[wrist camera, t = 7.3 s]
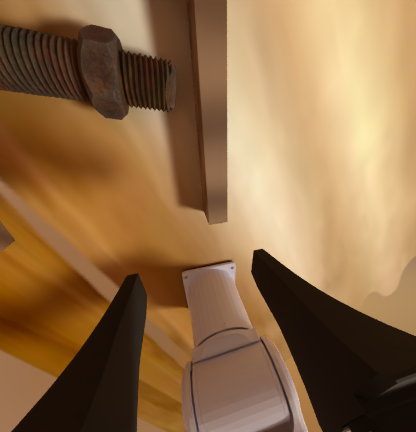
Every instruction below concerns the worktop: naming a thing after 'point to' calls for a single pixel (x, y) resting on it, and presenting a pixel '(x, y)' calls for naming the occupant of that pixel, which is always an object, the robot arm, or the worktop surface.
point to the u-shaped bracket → (204, 104)
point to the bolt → (85, 70)
